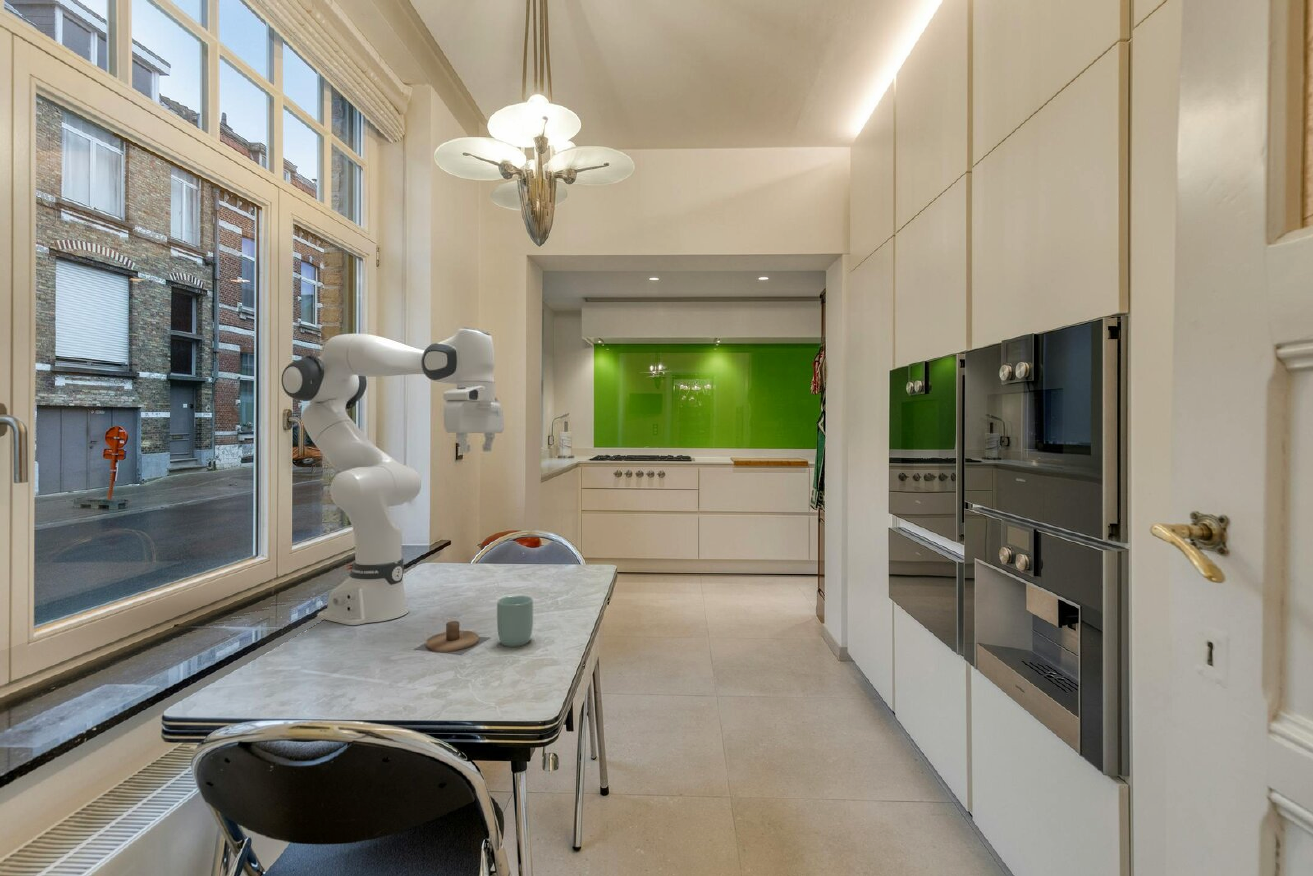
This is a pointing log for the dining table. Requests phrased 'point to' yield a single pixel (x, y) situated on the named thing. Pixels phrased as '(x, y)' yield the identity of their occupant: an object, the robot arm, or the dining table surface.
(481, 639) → the mat
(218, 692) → the dining table surface
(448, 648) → the lid
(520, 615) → the cup
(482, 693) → the dining table surface
